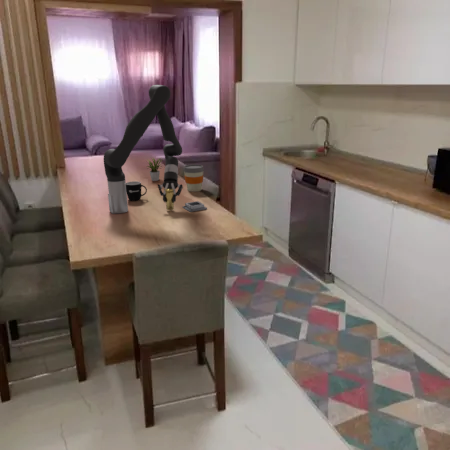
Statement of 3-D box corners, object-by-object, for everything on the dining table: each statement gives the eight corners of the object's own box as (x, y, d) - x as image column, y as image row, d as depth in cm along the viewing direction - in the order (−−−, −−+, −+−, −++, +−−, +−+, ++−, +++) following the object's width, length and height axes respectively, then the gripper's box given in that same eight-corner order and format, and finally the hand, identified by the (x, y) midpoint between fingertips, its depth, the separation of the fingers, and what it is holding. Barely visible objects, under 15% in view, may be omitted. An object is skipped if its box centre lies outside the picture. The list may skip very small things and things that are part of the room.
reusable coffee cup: (201, 192, 271) (200, 168, 266) (182, 191, 273) (181, 168, 268) (206, 187, 282) (205, 164, 277) (187, 187, 285) (186, 164, 280)
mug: (127, 202, 252) (125, 185, 248) (126, 198, 260) (125, 181, 257) (148, 200, 254) (146, 183, 251) (146, 196, 263) (145, 180, 259)
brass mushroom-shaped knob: (167, 210, 231) (166, 190, 228) (164, 208, 235) (163, 189, 231) (175, 209, 233) (174, 189, 230) (172, 207, 237) (171, 188, 234)
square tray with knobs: (190, 212, 231) (190, 207, 231) (182, 207, 240) (182, 203, 239) (207, 209, 236) (206, 204, 235) (198, 204, 244) (198, 200, 243)
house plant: (169, 177, 312) (167, 155, 307) (164, 182, 299) (163, 158, 294) (149, 177, 313) (148, 155, 308) (144, 182, 300) (142, 158, 295)
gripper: (157, 170, 235) (154, 198, 227) (183, 170, 235) (181, 198, 227) (159, 178, 242) (156, 205, 234) (184, 178, 242) (183, 205, 234)
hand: (169, 201), depth 231 cm, fingers closed on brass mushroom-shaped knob, 4 cm apart
